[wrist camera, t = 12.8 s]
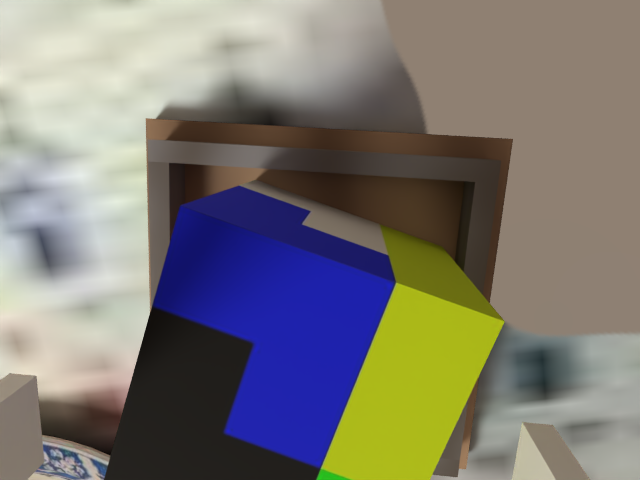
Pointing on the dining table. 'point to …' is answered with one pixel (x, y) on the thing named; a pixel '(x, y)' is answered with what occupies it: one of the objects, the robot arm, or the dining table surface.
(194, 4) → the dining table surface
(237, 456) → the puzzle toy
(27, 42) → the dining table surface
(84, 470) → the ceramic plate
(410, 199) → the pocket board
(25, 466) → the robot arm
